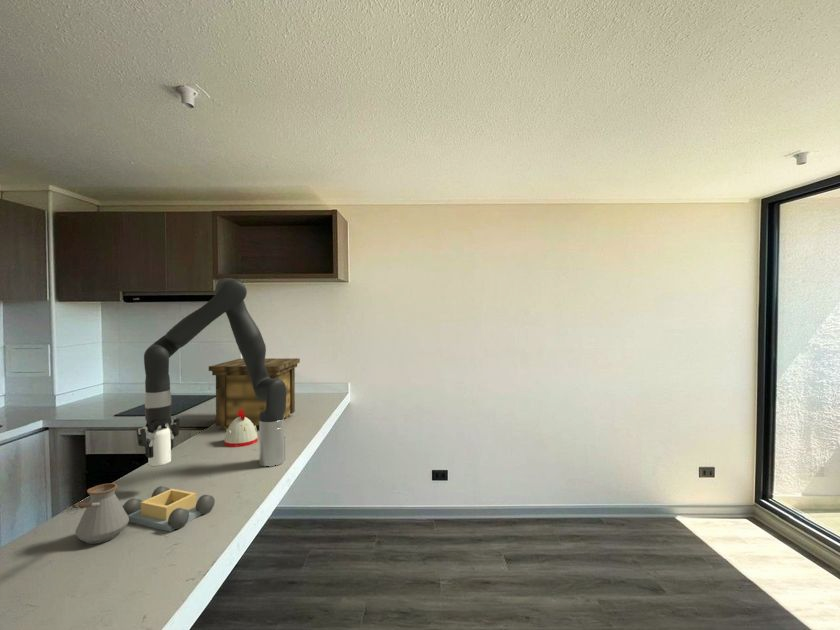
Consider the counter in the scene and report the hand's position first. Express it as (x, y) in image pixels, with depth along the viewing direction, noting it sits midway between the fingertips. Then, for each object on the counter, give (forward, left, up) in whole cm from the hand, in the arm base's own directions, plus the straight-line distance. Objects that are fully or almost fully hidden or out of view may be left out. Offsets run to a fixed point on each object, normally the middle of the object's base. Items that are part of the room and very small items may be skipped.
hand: (159, 453), depth 141 cm
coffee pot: (+30, +15, -13) cm, 36 cm away
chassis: (+11, +18, -12) cm, 25 cm away
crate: (-81, -30, -13) cm, 87 cm away
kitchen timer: (-51, -13, -13) cm, 54 cm away
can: (0, 0, -3) cm, 3 cm away
